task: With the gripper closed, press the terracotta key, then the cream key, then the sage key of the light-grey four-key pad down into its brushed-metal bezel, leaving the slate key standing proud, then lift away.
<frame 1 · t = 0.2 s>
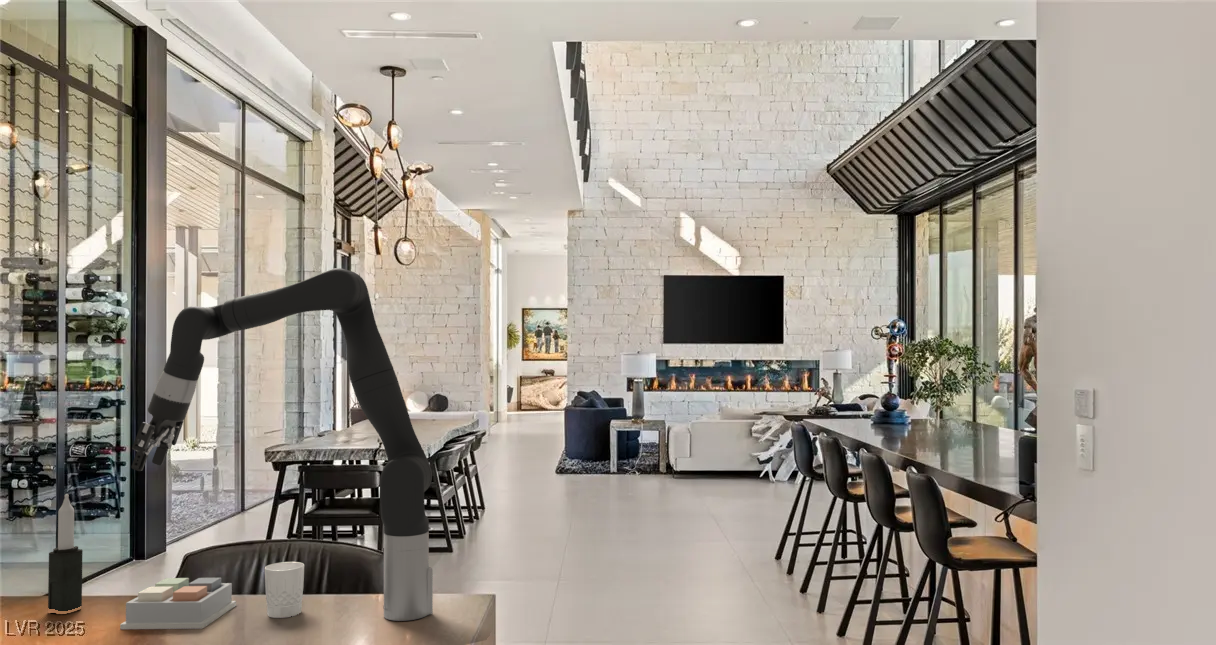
hand: (147, 466, 190), 31 cm above the table, tool tilted 20°, fingers open, 8 cm apart
key sage: (172, 588, 190), point 5 cm above the table, slide at 0.0 cm
key cream: (155, 597, 183), point 5 cm above the table, slide at 0.0 cm
key terracotta: (190, 597, 183), point 5 cm above the table, slide at 0.0 cm
white cup: (284, 614, 188), on the table
keypad: (180, 616, 186), on the table
key slate: (205, 588, 190), point 5 cm above the table, slide at 0.0 cm
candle: (64, 612, 191), on the table
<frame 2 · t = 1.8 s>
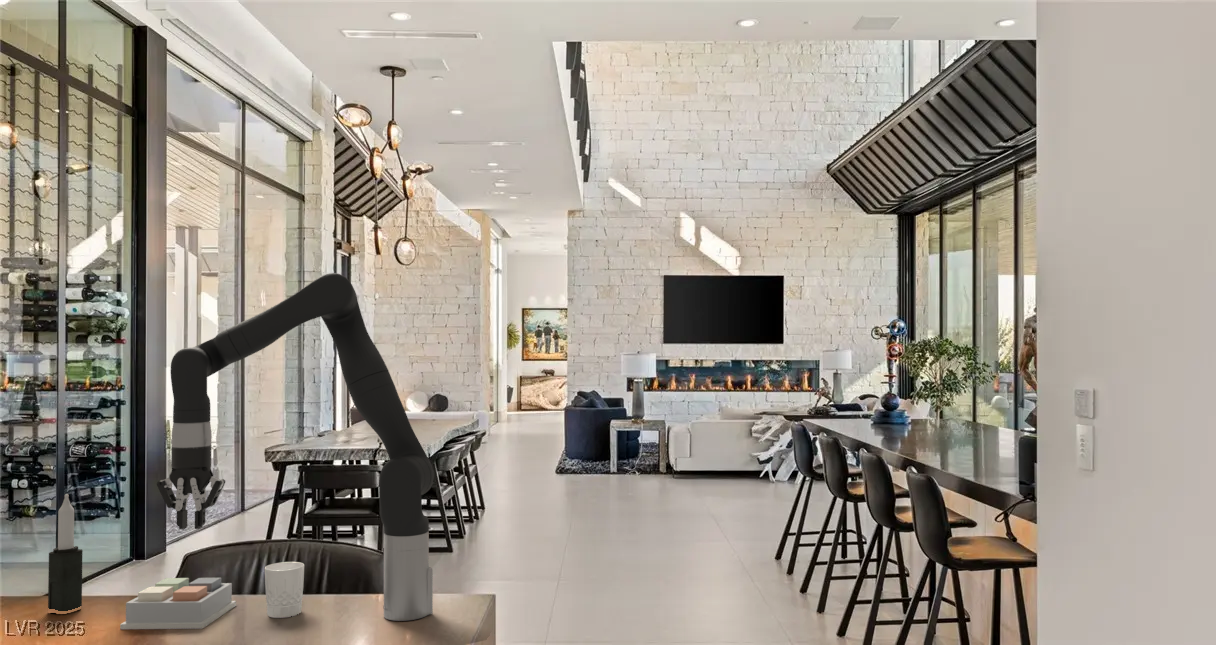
hand: (190, 528, 184), 19 cm above the table, tool pointing down, fingers closed
nothing on the table moved.
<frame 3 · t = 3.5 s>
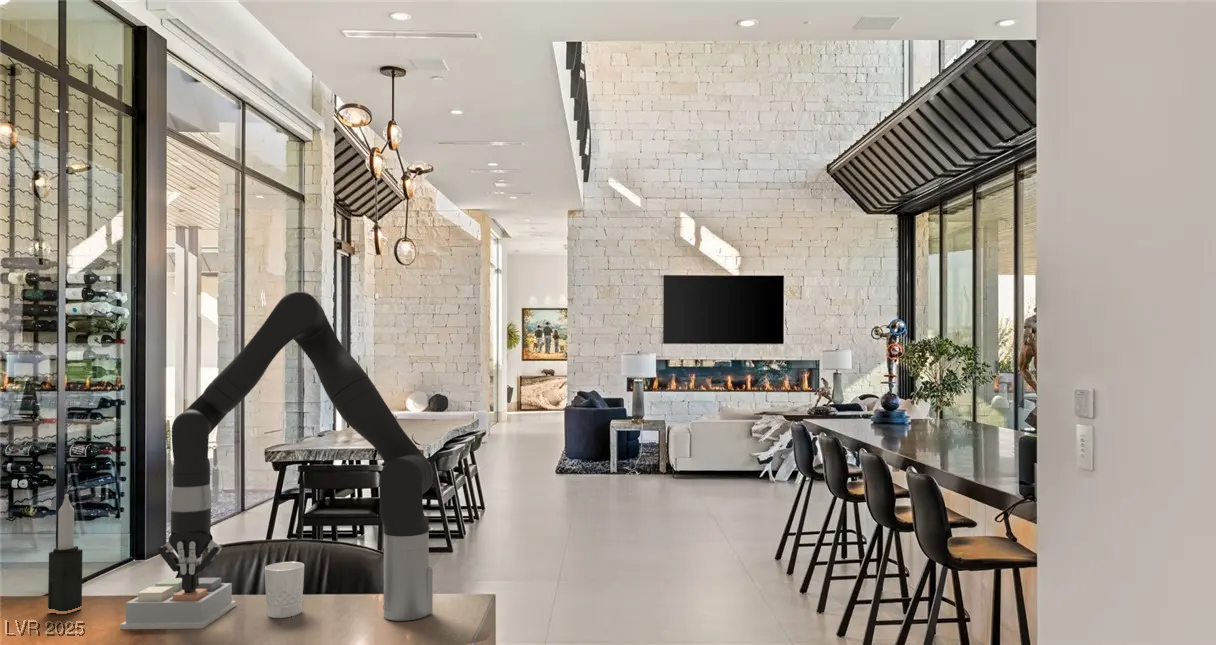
hand: (190, 591, 183), 6 cm above the table, tool pointing down, fingers closed
key terracotta: (190, 599, 183), point 4 cm above the table, slide at 0.5 cm, touching gripper
everything else where it was.
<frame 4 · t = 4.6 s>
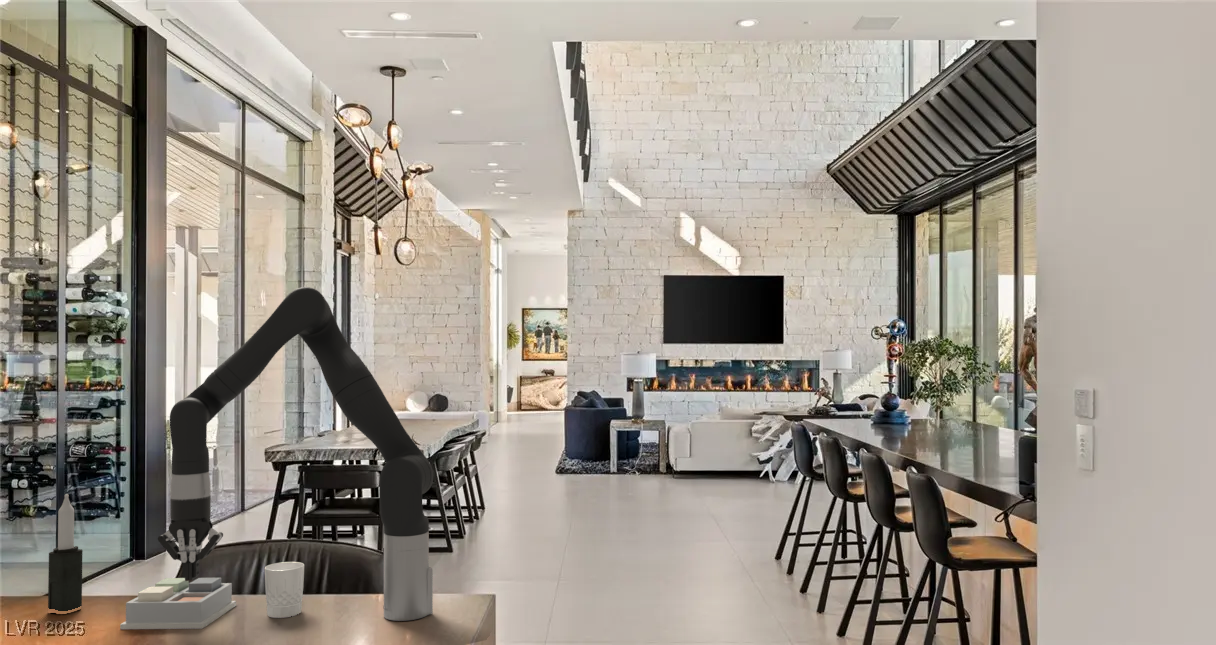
hand: (190, 579, 183), 9 cm above the table, tool pointing down, fingers closed
key terracotta: (190, 608, 183), point 3 cm above the table, slide at 2.3 cm
everything else where it was.
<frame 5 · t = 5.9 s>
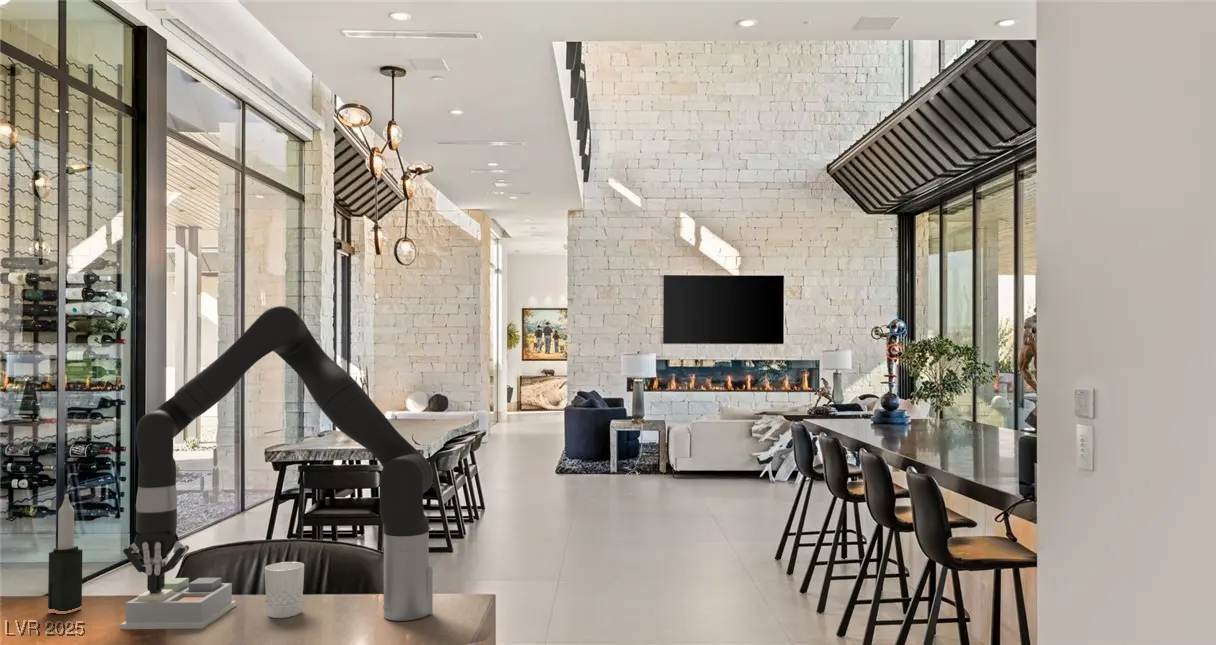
hand: (155, 592, 183), 6 cm above the table, tool pointing down, fingers closed
key cream: (155, 600, 183), point 4 cm above the table, slide at 0.6 cm, touching gripper
everything else where it was.
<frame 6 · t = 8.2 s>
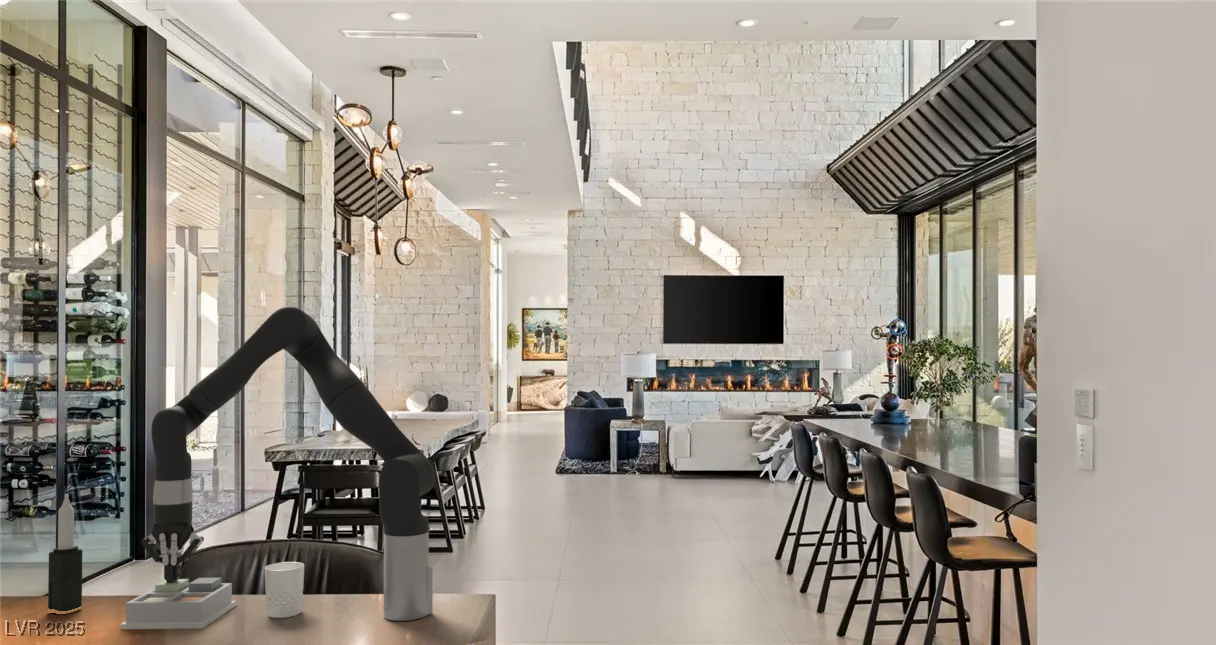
hand: (172, 581, 190), 6 cm above the table, tool pointing down, fingers closed
key sage: (172, 589, 190), point 5 cm above the table, slide at 0.2 cm, touching gripper
key cream: (155, 608, 183), point 3 cm above the table, slide at 2.2 cm
everything else where it was.
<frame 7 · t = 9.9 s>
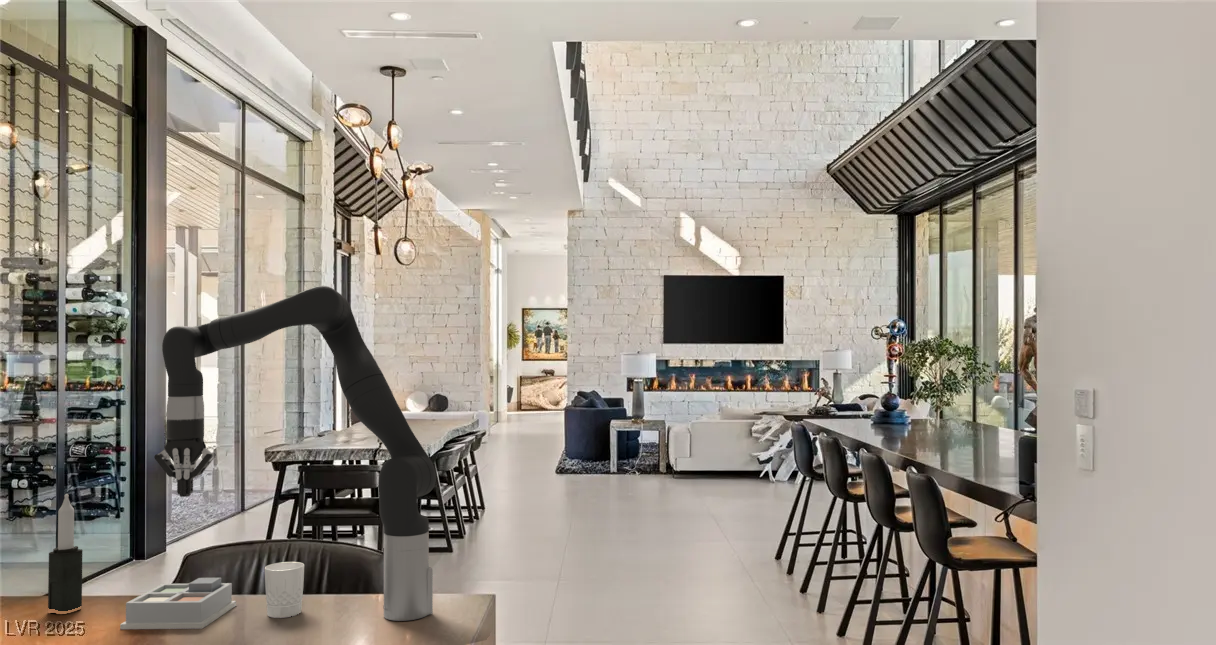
hand: (184, 496, 195), 24 cm above the table, tool pointing down, fingers closed
key sage: (172, 599, 190), point 3 cm above the table, slide at 2.2 cm
everything else where it was.
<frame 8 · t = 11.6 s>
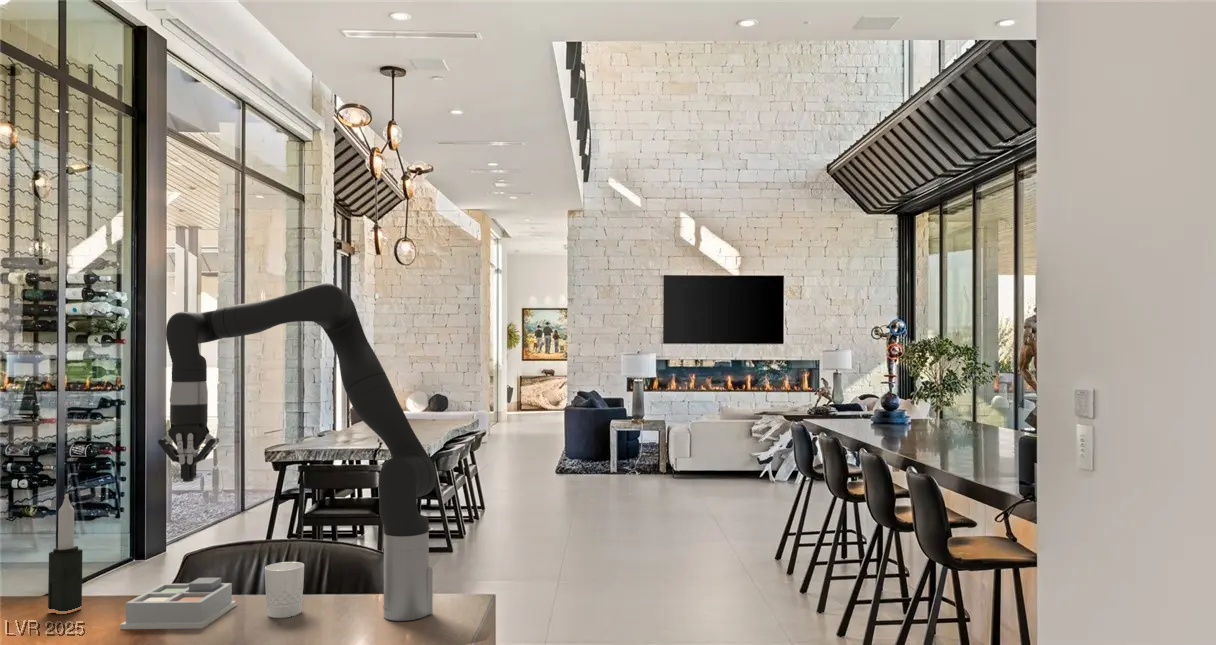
hand: (188, 481, 196), 27 cm above the table, tool pointing down, fingers closed
nothing on the table moved.
at the end: key terracotta slide at 2.3 cm; key cream slide at 2.2 cm; key sage slide at 2.2 cm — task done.
